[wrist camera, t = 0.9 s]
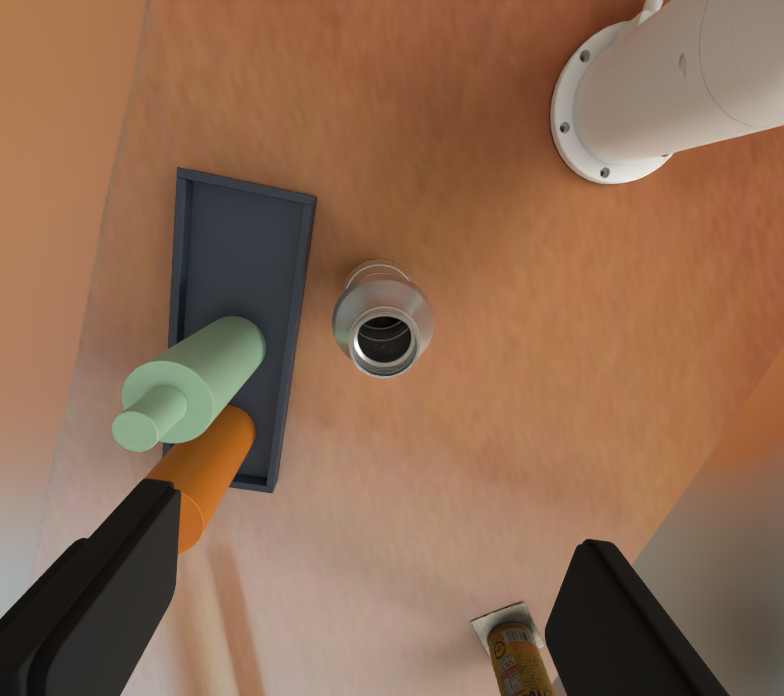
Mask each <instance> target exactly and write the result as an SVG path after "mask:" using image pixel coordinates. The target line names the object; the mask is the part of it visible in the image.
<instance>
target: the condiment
mask: <svg viewBox="0 0 784 696" xmlns="http://www.w3.org/2000/svg"><path fill="white" fill-rule="evenodd" d="M471 623H472V625H473V627H474V629H475V631H476V633H477V634H478V636H479V638H480V640H481V642H482V644H483V645H484V647H485V649H486V651H487V653H488V655H489V657H490V659H491V661H492V665H493V669H494V672H495V676H496V678H497V683H498V686H499V691H500V693H501V696H556V694H555V692H554V689H553V687H552V684H551V681H550V679H549V676H548V674H547V671H546V668H545V666H544V663H543V660H542V658H541V655H540V653H539V650H538V649H539V648H542V647H544V644H543V641H542V639H541V637H540V635H539V633H538V631H537V629H536V627H535V624H534V622H533V620H532V618H531V616H530V614H529V612H528V610H527V607H526V605H525V603H521V604H519V605H514V606H511V607H508V608H505V609H502V610H500V611H497V612H492V613H491V614H489V615H487V616H485V617H481V618H479V619H477V620H475V621H472V622H471Z"/></svg>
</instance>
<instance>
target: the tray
mask: <svg viewBox="0 0 784 696" xmlns="http://www.w3.org/2000/svg"><path fill="white" fill-rule="evenodd" d="M177 177H178V178H177V183H176V203H175V222H174V241H173V261H172V280H171V300H170V319H169V338H168V349H169V348H171V347H172V346H174V345H176V344H178V343H179V342H181V341H183V340H184V339H186V338H188V337H189V336H191V335H193V334H194V333H196V332H198V331H199V330H201V329H203V328H204V327H206V326H208V325H210V324H211V323H213V322H215V321H216V320H218V319H220V318H223V317H227V316H238V317H242V318H245V319H247V320H249V321H251V322H252V323H254V324H255V325H256V326H257V327H258V328H259V329H260V331H261V332H262V334H263V336H264V339H265V343H266V353H265V356H264V359H263V361H262V362H261V364H260V365H259V366H258V367H257V369H256V370H255V371H254V372H253V373H252V375H251V376H250V377H249V378H248V380H247V381H246V382H245V383H244V384H243V386H242V387H241V388H240V389H239V390H238V392H237V393H236V394H235V395H234V396H233V398H232V399H231V400H230V401H229V402H228V404H227V405H232V406H235V407H238V408H240V409H242V410H243V411H245V412H246V413H247V414H248V415H249V416H250V417H251V419H252V420H253V422H254V425H255V428H256V436H255V440H254V442H253V444H252V446H251V448H250V450H249V451H248V453H247V455H246V457H245V459H244V460H243V462H242V464H241V466H240V468H239V469H238V471H237V473H236V475H235V477H234V478H233V480H232V482H231V484H230V486H229V487H232V488H239V489H246V490H253V491H260V492H267V493H273V491H274V489H275V486H276V483H277V479H278V472H279V465H280V458H281V450H282V443H283V436H284V429H285V422H286V415H287V408H288V401H289V393H290V386H291V379H292V372H293V365H294V358H295V351H296V344H297V337H298V329H299V322H300V315H301V308H302V301H303V294H304V287H305V280H306V272H307V265H308V258H309V251H310V244H311V237H312V230H313V223H314V215H315V208H316V201H317V198H316V197H314V196H311V195H306V194H302V193H297V192H292V191H287V190H283V189H278V188H273V187H268V186H264V185H259V184H254V183H250V182H245V181H240V180H235V179H231V178H226V177H221V176H216V175H212V174H207V173H202V172H198V171H193V170H188V169H183V168H179V167H177ZM175 444H176V443H165V442H163V455H162V458H163V457H164V456H165V455H166V454H167V453H168V451H169V450H170V449H171V448H172V447H173V446H174V445H175Z"/></svg>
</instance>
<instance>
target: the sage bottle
mask: <svg viewBox="0 0 784 696" xmlns="http://www.w3.org/2000/svg"><path fill="white" fill-rule="evenodd" d="M265 353H266V343H265V339H264V336H263V334H262V332H261V331H260V329H259V328H258V327H257V326H256V325H255V324H254V323H252V322H251V321H249V320H247V319H245V318H242V317H238V316H227V317H223V318H220V319H218V320H216V321H215V322H213V323H211V324H210V325H208V326H206V327H204V328H203V329H201V330H199V331H198V332H196V333H194V334H193V335H191V336H189V337H188V338H186V339H184V340H183V341H181V342H179V343H178V344H176V345H174V346H172V347H171V348H169V349H167V350H166V351H164V352H162V353H161V354H159V355H157V356H156V357H154V358H152V359H151V360H149V361H147V362H146V363H144V364H142V365H140V366H139V367H137V368H136V369H135V370H133V371H132V372H131V373H130V374H129V376H128V377H127V379H126V380H125V382H124V385H123V388H122V395H121V399H122V406H123V409H124V411H123V412H122V413H120V414H119V415H118V416H116V418H115V419H114V420H113V423H112V427H111V431H112V435H113V437H114V439H115V441H116V442H117V443H118V444H119V445H120V446H122V447H123V448H125V449H127V450H130V451H134V452H141V451H146V450H148V449H150V448H152V447H153V446H154V445H155V444H156V443H157V442H158V441H160V442H165V443H182V442H186V441H190V440H192V439H194V438H196V437H198V436H199V435H201V434H202V433H203V432H204V431H205V430H206V429H207V428H208V427H209V425H210V424H211V423H212V422H213V421H214V419H215V418H216V417H217V416H218V415H219V413H220V412H221V411H222V410H223V409H224V407H225V406H226V405H227V404H228V402H229V401H230V400H231V399H232V398H233V396H234V395H235V394H236V393H237V392H238V390H239V389H240V388H241V387H242V386H243V384H244V383H245V382H246V381H247V380H248V378H249V377H250V376H251V375H252V373H253V372H254V371H255V370H256V369H257V367H258V366H259V365H260V364H261V362H262V361H263V359H264V356H265Z"/></svg>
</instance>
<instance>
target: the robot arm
mask: <svg viewBox="0 0 784 696" xmlns="http://www.w3.org/2000/svg"><path fill="white" fill-rule="evenodd" d="M663 1H664V0H645V4H644V7H643V11H642V12H640V13H639V14H638V15H637V16H636V17H635V18H633V19H632V20H631V21H625V22H619V23H617V24H614V25H611V26H609V27H606V28H604V29H603V30H601V31H600V32H598V33H596V34H595V35H593V36H592V37H591V38H589V39H588V40H587V41H586V42H585V43H584V44H582V45H581V46H580V47H579V49H578V50H577V51H576V52H575V53H574V54H573V55H572V56H571V57H570V59H569V60H568V62H567V63H566V65H565V66H564V68H563V70H562V72H561V74H560V76H559V78H558V80H557V83H556V85H555V89H554V93H553V96H552V101H551V111H550V120H551V131H552V135H553V139H554V143H555V145H556V147H557V150H558V152H559V154H560V156H561V157H562V159H563V160H564V161H565V163H566V164H567V165H568V166H569V167H570V168H571V169H572V170H573V171H574V172H575V173H576V174H578V175H580V176H581V177H583V178H585V179H587V180H589V181H593V182H596V183H600V184H619V183H625V182H629V181H633V180H637V179H639V178H641V177H644V176H646V175H648V174H650V173H651V172H653V171H654V170H656V169H657V168H659V167H660V166H661V165H663V164H664V163H665V162H666V161H667V160H668V159H669V158H670V157H671V156H672V155H673V153H674V152H678V151H682V150H686V149H690V148H694V147H698V146H702V145H706V144H710V143H714V142H718V141H722V140H726V139H730V138H734V137H738V136H742V135H747V134H751V133H755V132H759V131H763V130H767V129H771V128H775V127H779V126H783V125H784V0H671V1H670V2H668V3H667V4H666V5H664V6H663V7H662V8H661V6H662V3H663ZM580 57H581V58H582V61H581V60H580ZM560 127H562V128H563V131H562V132H561V131H560ZM600 171H601V172H602V175H600ZM180 509H181V490H178V489H174V483H173V482H171V481H164V480H157V479H149V478H145V479H143V480H142V481H141V482H140V483H139V484H138V485H137V486H136V487H135V488H134V489H133V490H132V491H131V493H130V494H129V495H128V496H127V497H126V498H125V499H124V500H123V501H122V502H121V503H120V505H119V506H118V507H117V508H116V509H115V510H114V511H113V512H112V513H111V514H110V515H109V517H108V518H107V519H106V520H105V521H104V522H103V523H102V524H101V525H100V526H99V527H98V529H97V530H96V531H95V532H94V533H93V534H92V535H91V536H90V537H89V538H88V539H87V538H81V539H79V540H77V541H75V542H74V543H73V544H72V545H71V546H69V547H68V548H67V550H66V551H65V552H64V553H63V554H62V555H61V556H60V557H59V558H58V559H57V560H56V561H55V562H54V563H53V564H52V565H51V566H50V567H49V568H48V569H47V571H46V572H45V573H44V574H43V575H42V576H41V577H40V578H39V579H38V580H37V581H36V582H35V583H34V584H33V585H32V586H31V587H30V588H29V589H28V590H27V592H26V593H25V594H24V595H23V596H22V597H21V598H20V599H19V600H18V601H17V602H16V603H15V604H14V605H13V606H12V607H11V608H10V609H9V610H8V611H7V613H6V614H5V615H4V616H3V617H2V618H1V619H0V696H120V695H121V693H122V691H123V689H124V687H125V685H126V684H127V682H128V680H129V678H130V676H131V674H132V672H133V671H134V669H135V667H136V665H137V663H138V661H139V660H140V658H141V656H142V654H143V652H144V650H145V648H146V647H147V645H148V643H149V641H150V639H151V637H152V636H153V634H154V632H155V630H156V628H157V626H158V624H159V623H160V621H161V619H162V617H163V615H164V613H165V612H166V610H167V608H168V606H169V604H170V602H171V600H172V597H173V594H174V591H175V586H176V573H177V557H178V541H179V525H180ZM545 641H546V645H547V647H548V650H549V652H550V655H551V657H552V660H553V662H554V664H555V667H556V669H557V672H558V674H559V676H560V679H561V681H562V684H563V686H564V688H565V691H566V693H567V696H729V694H728V693H727V692H726V690H725V689H724V688H723V686H722V685H721V684H720V683H719V681H718V680H717V679H716V677H715V676H714V675H713V673H712V672H711V671H710V669H709V668H708V667H707V665H706V664H705V663H704V661H703V660H702V659H701V658H700V656H699V655H698V653H697V652H696V651H695V649H694V648H693V647H692V646H691V644H690V643H689V642H688V640H687V639H686V638H685V636H684V635H683V634H682V632H681V631H680V630H679V629H678V627H677V626H676V625H675V623H674V622H673V620H672V619H671V618H670V617H669V615H668V614H667V613H666V611H665V610H664V609H663V607H662V606H661V605H660V603H659V602H658V601H657V600H656V598H655V597H654V595H653V594H652V593H651V592H650V590H649V589H648V588H647V586H646V585H645V584H644V582H643V581H642V580H641V578H640V577H639V576H638V575H637V573H636V572H635V570H634V569H633V568H632V566H631V565H630V564H629V562H628V561H627V560H626V558H625V557H624V556H623V555H622V553H621V552H620V551H619V549H618V548H617V547H616V546H615V545H614V544H613V543H611V542H607V541H600V540H593V539H586V540H585V541H584V542H583V543H582V544H580V545H578V546H577V547H576V549H575V552H574V554H573V557H572V560H571V562H570V565H569V567H568V570H567V573H566V575H565V578H564V580H563V583H562V586H561V588H560V591H559V593H558V596H557V599H556V601H555V604H554V606H553V609H552V612H551V614H550V617H549V619H548V622H547V625H546V628H545Z"/></svg>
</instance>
